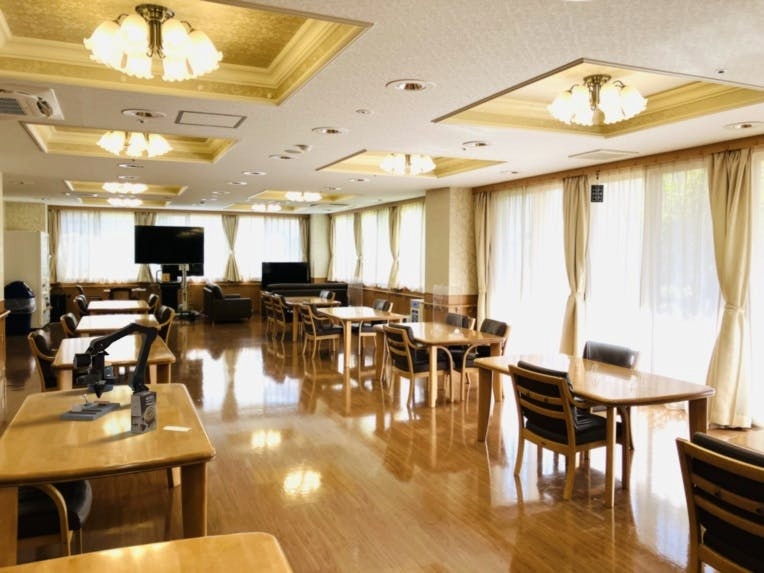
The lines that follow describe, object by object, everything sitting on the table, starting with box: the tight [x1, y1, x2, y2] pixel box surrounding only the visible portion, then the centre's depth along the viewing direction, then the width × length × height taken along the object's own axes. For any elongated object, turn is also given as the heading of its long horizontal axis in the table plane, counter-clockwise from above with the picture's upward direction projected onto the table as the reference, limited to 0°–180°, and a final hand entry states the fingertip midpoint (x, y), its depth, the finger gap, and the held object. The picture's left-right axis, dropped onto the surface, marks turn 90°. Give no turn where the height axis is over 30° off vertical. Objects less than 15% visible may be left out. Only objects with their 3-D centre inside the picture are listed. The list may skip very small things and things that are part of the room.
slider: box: [71, 403, 83, 412], centre depth 271 cm, size 3×3×3 cm
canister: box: [86, 360, 115, 393], centre depth 320 cm, size 13×13×18 cm
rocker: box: [93, 400, 111, 403], centre depth 282 cm, size 4×7×1 cm, turn 175°
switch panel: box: [58, 401, 121, 422], centre depth 277 cm, size 16×23×3 cm
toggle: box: [82, 394, 89, 403], centre depth 283 cm, size 2×2×4 cm
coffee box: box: [130, 390, 158, 435], centre depth 251 cm, size 9×6×16 cm
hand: (98, 398), depth 280 cm, fingers closed
